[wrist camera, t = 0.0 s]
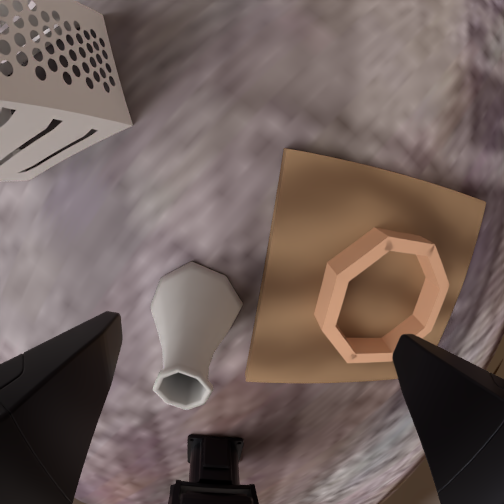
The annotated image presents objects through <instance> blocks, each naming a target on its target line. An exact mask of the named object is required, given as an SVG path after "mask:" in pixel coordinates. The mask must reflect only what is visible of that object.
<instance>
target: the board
mask: <svg viewBox="0 0 504 504" xmlns="http://www.w3.org/2000/svg"><path fill="white" fill-rule="evenodd" d="M485 205H486V202H485V201H482V200H479V199H477V198H474V197H471V196H468V195H466V194H463V193H460V192H457V191H454V190H451V189H448V188H445V187H442V186H439V185H436V184H432V183H429V182H426V181H423V180H419V179H416V178H413V177H409V176H406V175H402V174H398V173H395V172H391V171H387V170H384V169H380V168H376V167H372V166H368V165H364V164H360V163H355V162H351V161H347V160H342V159H338V158H333V157H328V156H324V155H319V154H314V153H308V152H303V151H298V150H292V149H285V148H284V151H283V157H282V164H281V170H280V176H279V182H278V188H277V194H276V200H275V207H274V213H273V219H272V225H271V231H270V236H269V242H268V248H267V254H266V260H265V266H264V272H263V277H262V283H261V289H260V294H259V300H258V306H257V311H256V317H255V323H254V328H253V334H252V339H251V345H250V350H249V356H248V361H247V366H246V372H245V375H246V381H247V382H268V383H339V382H360V381H375V380H388V379H398V376H397V373H396V370H395V366H394V363H393V361H392V362H371V363H347V362H346V361H345V360H344V358H343V357H342V356H341V355H340V353H339V352H338V351H337V349H336V348H335V347H334V346H333V344H332V343H331V342H330V340H329V339H328V338H327V337H326V335H325V334H324V333H323V332H322V330H321V328H320V326H319V324H318V322H317V320H316V318H315V316H314V312H315V309H316V305H317V301H318V297H319V293H320V290H321V286H322V282H323V278H324V274H325V269H326V265H327V262H328V261H330V260H331V259H332V258H334V257H335V256H336V255H338V254H339V253H341V252H342V251H343V250H345V249H346V248H347V247H349V246H350V245H351V244H353V243H354V242H355V241H357V240H358V239H359V238H361V237H362V236H363V235H365V234H366V233H367V232H369V231H370V230H371V229H373V228H374V227H375V228H380V229H386V230H392V231H397V232H403V233H408V234H413V235H419V236H421V237H423V238H425V239H426V240H428V241H430V242H432V243H433V244H435V246H436V249H437V251H438V254H439V257H440V259H441V262H442V265H443V267H444V270H445V273H446V276H447V279H448V282H449V288H448V291H447V294H446V296H445V299H444V301H443V304H442V307H441V309H440V312H439V314H438V317H437V319H436V321H435V324H434V326H433V328H432V331H431V332H430V333H428V334H427V335H426V336H425V337H423V338H422V339H424V340H426V341H428V342H430V343H432V344H434V345H436V346H437V345H438V343H439V341H440V338H441V336H442V334H443V332H444V330H445V327H446V325H447V323H448V320H449V318H450V316H451V313H452V311H453V308H454V306H455V303H456V301H457V298H458V296H459V293H460V290H461V288H462V285H463V282H464V279H465V276H466V273H467V270H468V267H469V264H470V261H471V258H472V255H473V251H474V248H475V245H476V241H477V237H478V234H479V230H480V226H481V222H482V218H483V214H484V210H485ZM425 278H426V277H425V275H424V272H423V270H422V267H421V265H420V263H419V260H418V258H417V256H416V254H409V253H402V252H395V251H389V252H387V253H386V254H385V255H383V256H382V257H381V258H380V259H378V260H377V261H376V262H374V263H373V264H372V265H370V266H369V267H368V268H366V269H365V270H364V271H362V272H361V273H360V274H358V275H357V276H356V277H354V278H353V279H352V280H350V281H349V283H348V286H347V290H346V293H345V297H344V300H343V303H342V307H341V310H340V313H339V317H338V320H337V323H336V324H337V326H338V327H339V328H340V330H341V331H342V333H343V334H344V335H345V337H346V338H382V337H383V336H384V335H386V334H387V333H389V332H390V331H391V330H393V329H394V328H395V327H397V326H398V325H399V324H400V323H402V322H403V321H404V320H406V319H407V318H408V317H410V316H411V315H412V314H413V312H414V309H415V306H416V304H417V301H418V298H419V295H420V293H421V290H422V287H423V284H424V281H425Z"/></svg>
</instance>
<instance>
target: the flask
mask: <svg viewBox="0 0 504 504" xmlns="http://www.w3.org/2000/svg"><path fill="white" fill-rule="evenodd" d="M242 305H243V303H242V301H241V300H240V298H239V297H238V295H237V293H236V292H235V290H234V288H233V287H232V285H231V283H230V282H229V280H228V279H227V277H226V276H225V275H223V274H220V273H218V272H216V271H213V270H211V269H208V268H206V267H204V266H201V265H199V264H196V263H194V262H192V261H191V262H189V263H187V264H186V265H184V266H182V267H180V268H178V269H176V270H174V271H172V272H171V273H169V274H167V275H165V276H163V277H161V279H160V281H159V284H158V286H157V289H156V292H155V295H154V297H153V300H152V303H151V305H150V308H151V312H152V315H153V318H154V321H155V324H156V327H157V331H158V335H159V339H160V342H161V346H162V350H163V370H161V371H160V372H159V374H158V377H157V379H156V381H155V384H154V386H153V391H154V392H155V393H156V394H157V395H158V396H159V397H160V398H161V399H162V400H163V401H164V402H165V403H166V404H169V405H172V406H175V407H179V408H182V409H185V410H188V409H191V408H195V407H198V406H201V405H203V404H205V403H206V401H207V400H208V398H209V396H210V395H211V393H212V391H213V386H212V384H211V383H210V382H209V381H208V372H209V365H210V362H211V360H212V357H213V354H214V352H215V350H216V349H217V347H218V346H219V344H220V343H221V342H222V340H223V339H224V337H225V336H226V335H227V333H228V331H229V330H230V328H231V326H232V324H233V322H234V320H235V318H236V317H237V315H238V313H239V311H240V309H241V307H242Z"/></svg>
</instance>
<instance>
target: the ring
mask: <svg viewBox="0 0 504 504" xmlns="http://www.w3.org/2000/svg"><path fill="white" fill-rule="evenodd" d="M389 251H395V252H402V253H409V254H416V256H417V258H418V260H419V263H420V265H421V267H422V270H423V272H424V275H425V277H426V278H425V281H424V284H423V287H422V290H421V293H420V295H419V298H418V301H417V304H416V306H415V309H414V312H413V314H412V315H411V316H410V317H408V318H407V319H406V320H404V321H403V322H402V323H400V324H399V325H398V326H397V327H395V328H394V329H393V330H391V331H390V332H389V333H387V334H386V335H384V336H383V337H382V338H346V337H345V335H344V334H343V333H342V331H341V330H340V328H339V327H338V326H337V324H336V323H337V320H338V317H339V313H340V310H341V307H342V303H343V300H344V297H345V293H346V290H347V286H348V283H349V281H350V280H352V279H353V278H354V277H356V276H357V275H358V274H360V273H361V272H362V271H364V270H365V269H366V268H368V267H369V266H370V265H372V264H373V263H374V262H376V261H377V260H378V259H380V258H381V257H382V256H383V255H385V254H386V253H387V252H389ZM448 288H449V282H448V279H447V276H446V273H445V270H444V267H443V265H442V262H441V259H440V257H439V254H438V251H437V249H436V246H435V244H433V243H432V242H430V241H428V240H426V239H425V238H423V237H421V236H419V235H413V234H408V233H403V232H397V231H392V230H386V229H380V228H375V227H374V228H373V229H371V230H370V231H369V232H367V233H366V234H365V235H363V236H362V237H361V238H359V239H358V240H357V241H355V242H354V243H353V244H351V245H350V246H349V247H347V248H346V249H345V250H343V251H342V252H341V253H339V254H338V255H336V256H335V257H334V258H332V259H331V260H330V261H328V262H327V265H326V269H325V274H324V278H323V282H322V286H321V290H320V293H319V297H318V301H317V305H316V309H315V312H314V316H315V318H316V320H317V322H318V324H319V326H320V328H321V330H322V332H323V333H324V334H325V335H326V337H327V338H328V339H329V340H330V342H331V343H332V344H333V346H334V347H335V348H336V349H337V351H338V352H339V353H340V355H341V356H342V357H343V358H344V360H345V361H346V362H347V363H371V362H392V361H393V360H392V355H393V352H394V350H395V347H396V345H397V343H398V340H399V338H400V336H401V335H403V334H414V335H416V336H418V337H420V338H423V337H425V336H426V335H427V334H428V333H430V332H431V331H432V328H433V326H434V324H435V321H436V319H437V317H438V314H439V312H440V309H441V307H442V304H443V301H444V299H445V296H446V294H447V291H448Z"/></svg>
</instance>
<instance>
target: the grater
mask: <svg viewBox="0 0 504 504" xmlns="http://www.w3.org/2000/svg"><path fill="white" fill-rule="evenodd" d="M30 1H31V0H0V27H2V26H3V25H4V24H5V23H7V24H8V26H9V27H8V28H7V29H6V30H4V31H3V32H2V33H0V182H7V181H29V180H31V179H32V178H34V177H36V176H37V175H39V174H40V173H42V172H44V171H45V170H47V169H49V168H51V167H52V166H54V165H56V164H58V163H59V162H61V161H63V160H65V159H66V158H68V157H70V156H72V155H74V154H76V153H78V152H79V151H81V150H83V149H85V148H87V147H89V146H91V145H93V144H95V143H97V142H99V141H101V140H103V139H105V138H107V137H109V136H112V135H114V134H116V133H118V132H120V131H122V130H125V129H127V128H129V127H131V126H133V124H132V121H131V117H130V114H129V111H128V108H127V104H126V101H125V97H124V94H123V91H122V87H121V84H120V80H119V77H118V73H117V69H116V66H115V62H114V58H113V54H112V50H111V46H110V42H109V38H108V34H107V30H106V26H105V22H104V17H103V14H101V13H99V12H97V11H95V10H93V9H91V8H89V7H87V6H84V5H82V4H80V3H78V2H76V1H74V0H32V1H34V2H35V4H36V6H35V7H34V8H33V9H32V10H30V9H29V7H28V4H29V3H30ZM22 10H23V11H22ZM21 11H22V12H21ZM15 15H16V16H20V17H21V18H20V19H18V20H17V21H16V22H13V17H14V16H15ZM64 21H65V22H64ZM55 24H58V25H59V26H58V27H56V28H55V29H54V25H55ZM79 27H80V31H78V30H77V28H79ZM48 28H50V30H51V31H50V32H48V33H47V34H44V33H43V31H45V30H46V29H48ZM91 29H93V30H94V31H95V33H96V39H95V38H93V37H92V35H91V33H90V30H91ZM84 30H86V31H87V32H88V33H89V35H90V40H87V39H86V38H85V36H84ZM77 33H79V34H80V35H81V37H82V39H83V43H82V44H80V43H79V42H78V41H77V39H76V34H77ZM67 34H69V35H70V36H71V37H72V38H73V41H74V45H73V46H71V45H69V44H68V42H67V40H66V35H67ZM37 35H40V38H39V39H38V40H37V41H35V42H33V40H32V39H33V38H34V37H36V36H37ZM99 38H102V39H103V41H104V43H105V47H102V46H101V44H100V42H99ZM58 39H61V40H62V41H63V43H64V45H65V49H64V51H61V50H60V49H59V48H58V47H57V44H56V41H57V40H58ZM93 41H95V42H97V44H98V46H99V51H97V50H96V49H95V48H94V46H93ZM87 43H89V44H91V46H92V48H93V53H90V52H89V51H88V49H87V47H86V44H87ZM25 44H26V45H25ZM50 44H52V45H53V47H54V54H49V53H48V52H47V51H46V49H45V48H46V47H47V46H49V45H50ZM23 45H25V46H24V47H22V46H23ZM79 47H82V48H83V49H84V50H85V53H86V58H83V57H82V56H81V55H80V53H79ZM70 49H72V50H73V51H74V52H75V53H76V55H77V60H76V61H73V60H72V59H71V58H70V56H69V50H70ZM102 50H105V51H106V53H107V55H108V59H105V58H104V56H103V54H102ZM19 51H21V52H20V53H19V54H17V53H18V52H19ZM40 51H41V52H42V54H43V60H42V61H40V62H39V61H37V60H35V58H34V57H33V56H34V55H35V54H37V53H38V52H40ZM16 54H17V55H16ZM96 54H99V55H100V56H101V58H102V64H100V63H99V62H98V61H97V59H96ZM60 55H63V56H65V57H66V59H67V61H68V67H66V68H65V67H63V66H62V65H61V64H60V61H59V56H60ZM90 57H93V58H94V59H95V61H96V65H97V66H96V68H94V67H93V66H92V65H91V63H90ZM50 58H52V59H54V60H55V62H56V63H57V66H58V70H57V72H53V71H51V69H50V68H49V66H48V60H49V59H50ZM2 60H7V61H6V62H5V63H3V64H2V63H1V61H2ZM27 60H28V64H27V66H21V65H22V64H23V63H24V62H26V61H27ZM83 62H85V63H87V65H88V66H89V69H90V72H89V73H88V74H87V73H86V72H85V71H84V70H83V67H82V63H83ZM106 63H108V64H109V65H110V67H111V73H109V72H108V71H107V69H106V66H105V64H106ZM73 65H76V66H77V67H78V68H79V70H80V73H81V75H80V77H77V76H75V74H74V73H73V70H72V66H73ZM37 66H41V67H43V69H44V70H45V72H46V79H45V80H44V81H42V80H40V79H39V78H38V77H37V76H36V73H35V68H36V67H37ZM100 68H103V69H104V71H105V73H106V78H103V77H102V76H101V74H100V70H99V69H100ZM12 71H13V74H12V75H11V76H8V77H7V75H9V74H10V73H11V72H12ZM94 71H96V72H97V73H98V74H99V76H100V82H97V81H96V80H95V79H94V76H93V72H94ZM63 72H68V73H69V75H70V76H71V79H72V83H71V85H68V84H66V83H65V81H64V79H63ZM109 76H111V77H112V78H113V79H114V81H115V86H112V85H111V83H110V81H109ZM86 77H89V78H90V79H91V80H92V82H93V86H94V87H93V89H90V88H89V87H88V86H87V83H86ZM104 82H106V83H107V84H108V85H109V88H110V92H109V93H108V92H106V90H105V89H104V86H103V83H104ZM11 109H13V110H16V111H15V112H14V113H13V115H12V114H11ZM53 119H57V120H61V121H62V122H61V123H60V124H59V125H58V126H57V127H56V128H54V129H53V130H52V131H50V132H49V133H47V134H45V135H44V136H42V137H41V138H39V139H38V140H36V141H35V142H33V143H32V144H30V145H29V146H27V147H26V148H24V149H19V147H20V146H21V145H22V144H24V143H25V142H27V141H28V140H30V139H31V138H33V137H34V136H36V135H37V134H39V133H40V132H42V131H43V130H45V129H46V128H47V127H48V125H49V124H50V123H51V121H52V120H53ZM91 129H95V130H98V131H97V132H95V133H94V134H92V135H91V136H90V137H88V138H86V139H84V140H82V141H80V142H78V143H77V144H75V145H73V146H71V147H69V148H67V149H66V150H64V151H62V152H60V153H59V154H57V155H55V156H53V157H52V158H50V159H48V160H47V161H45V162H43V163H42V164H40V165H39V166H37V167H35V168H33V169H31V170H29V171H27V172H26V170H25V169H27V168H30V167H32V166H33V165H35V164H37V163H38V162H40V161H41V160H43V159H45V158H46V157H48V156H50V155H51V154H53V153H55V152H56V151H58V150H60V149H62V148H63V147H65V146H67V145H69V144H70V143H72V142H74V141H76V140H78V139H80V138H82V137H83V136H85V135H86V134H87V133H88V132H89V131H90V130H91Z"/></svg>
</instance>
